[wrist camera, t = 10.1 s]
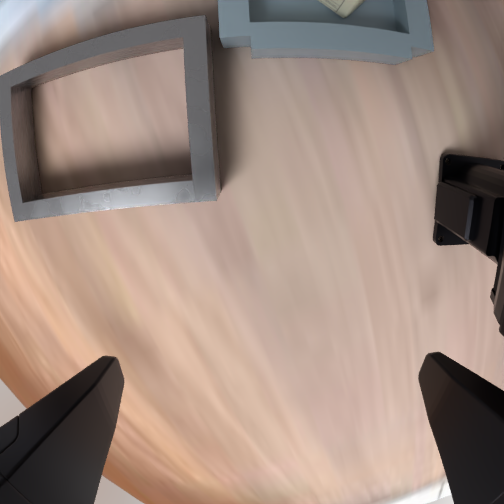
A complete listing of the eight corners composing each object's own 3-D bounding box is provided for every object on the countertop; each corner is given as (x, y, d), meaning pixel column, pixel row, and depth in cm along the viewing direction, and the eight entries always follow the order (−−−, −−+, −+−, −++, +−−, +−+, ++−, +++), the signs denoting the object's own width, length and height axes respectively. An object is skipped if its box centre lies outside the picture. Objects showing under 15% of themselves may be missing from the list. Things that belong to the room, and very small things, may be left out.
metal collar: (210, 27, 16) (205, 14, 13) (221, 191, 20) (216, 200, 17) (19, 77, 16) (-2, 76, 14) (33, 211, 20) (14, 221, 18)
